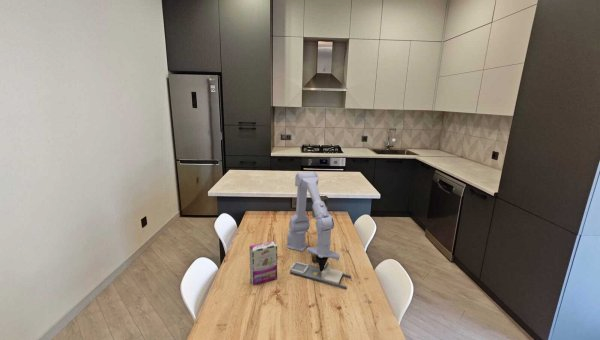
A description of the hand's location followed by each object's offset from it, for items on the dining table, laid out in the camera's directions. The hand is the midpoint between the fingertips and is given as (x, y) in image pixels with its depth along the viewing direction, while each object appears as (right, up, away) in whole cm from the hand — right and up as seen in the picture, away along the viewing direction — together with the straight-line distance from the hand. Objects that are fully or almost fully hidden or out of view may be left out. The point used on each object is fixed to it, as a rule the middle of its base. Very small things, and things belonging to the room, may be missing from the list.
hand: (321, 270), depth 126 cm
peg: (-2, 0, +13) cm, 13 cm away
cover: (+5, -2, -1) cm, 5 cm away
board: (-1, -3, +1) cm, 3 cm away
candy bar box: (-26, -3, -3) cm, 26 cm away
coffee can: (+3, +13, +67) cm, 68 cm away
